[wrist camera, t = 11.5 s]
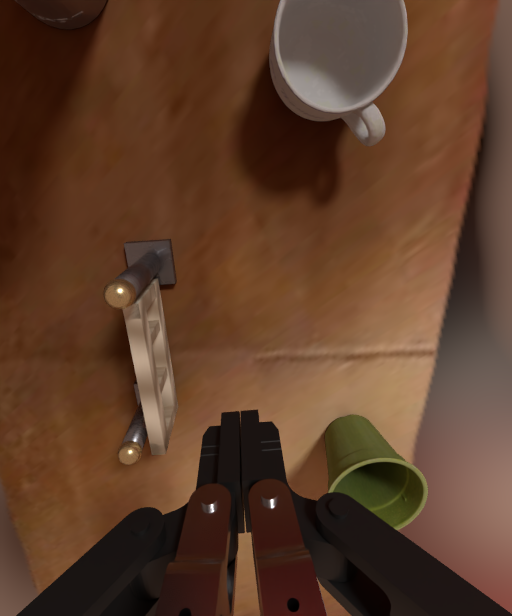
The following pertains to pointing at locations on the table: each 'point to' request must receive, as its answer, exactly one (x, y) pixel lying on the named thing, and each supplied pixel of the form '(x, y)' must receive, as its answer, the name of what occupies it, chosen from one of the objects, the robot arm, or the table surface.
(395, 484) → the plant pot
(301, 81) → the teacup
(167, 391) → the gate
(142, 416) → the latch post
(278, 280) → the table surface
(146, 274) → the hinge post
